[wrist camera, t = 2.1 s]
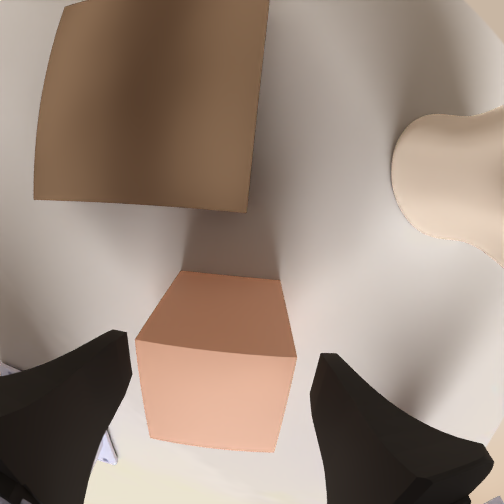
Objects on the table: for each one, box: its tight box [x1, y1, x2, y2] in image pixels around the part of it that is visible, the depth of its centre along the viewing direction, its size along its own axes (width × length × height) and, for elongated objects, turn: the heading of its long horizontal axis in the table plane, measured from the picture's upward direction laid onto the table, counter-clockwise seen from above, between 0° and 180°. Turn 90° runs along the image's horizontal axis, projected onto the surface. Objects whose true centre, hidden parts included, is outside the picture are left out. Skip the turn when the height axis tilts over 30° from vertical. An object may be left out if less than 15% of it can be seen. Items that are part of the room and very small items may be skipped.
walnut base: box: [34, 0, 269, 213], centre depth 10 cm, size 9×9×3 cm
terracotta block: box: [135, 271, 297, 452], centre depth 11 cm, size 4×4×6 cm
